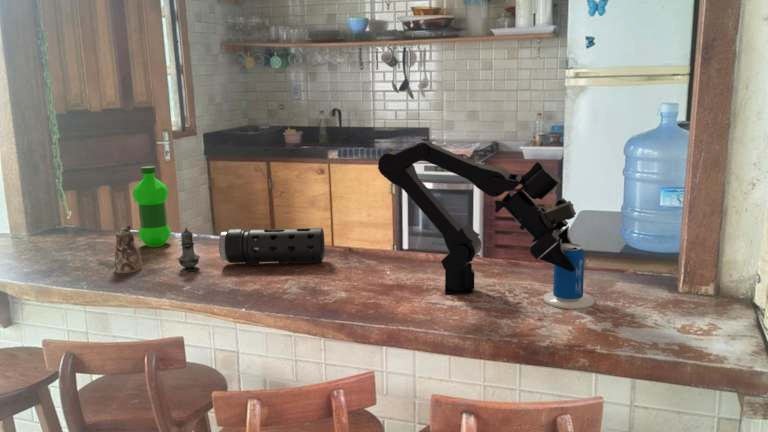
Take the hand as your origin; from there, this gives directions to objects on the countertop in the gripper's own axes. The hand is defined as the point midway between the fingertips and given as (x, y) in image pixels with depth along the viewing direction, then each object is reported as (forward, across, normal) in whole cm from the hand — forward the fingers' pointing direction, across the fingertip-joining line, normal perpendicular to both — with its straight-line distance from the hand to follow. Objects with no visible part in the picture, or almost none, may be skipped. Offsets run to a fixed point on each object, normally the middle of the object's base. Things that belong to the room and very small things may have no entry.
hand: (576, 264), depth 146 cm
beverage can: (+5, 0, +7) cm, 8 cm away
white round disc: (+5, 0, +7) cm, 9 cm away
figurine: (-78, -10, +91) cm, 120 cm away
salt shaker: (-66, -5, +78) cm, 102 cm away
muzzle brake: (-52, +7, +65) cm, 83 cm away
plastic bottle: (-86, +15, +99) cm, 132 cm away
